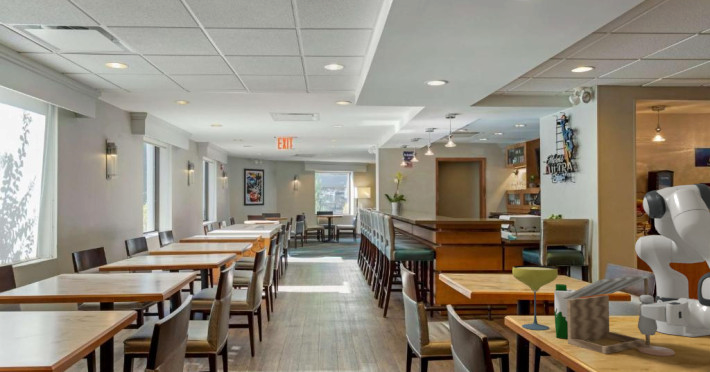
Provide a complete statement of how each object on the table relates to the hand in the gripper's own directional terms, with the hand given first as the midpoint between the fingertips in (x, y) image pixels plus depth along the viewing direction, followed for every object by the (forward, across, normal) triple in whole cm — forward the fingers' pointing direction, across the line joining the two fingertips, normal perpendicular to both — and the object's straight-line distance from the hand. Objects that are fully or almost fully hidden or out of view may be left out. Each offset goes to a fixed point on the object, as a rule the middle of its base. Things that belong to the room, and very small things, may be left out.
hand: (644, 305), depth 174 cm
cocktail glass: (+47, +1, +17) cm, 50 cm away
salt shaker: (-1, 0, +10) cm, 10 cm away
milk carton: (+29, +3, +17) cm, 34 cm away
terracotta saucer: (0, -6, +17) cm, 18 cm away
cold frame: (+15, 0, +17) cm, 22 cm away
